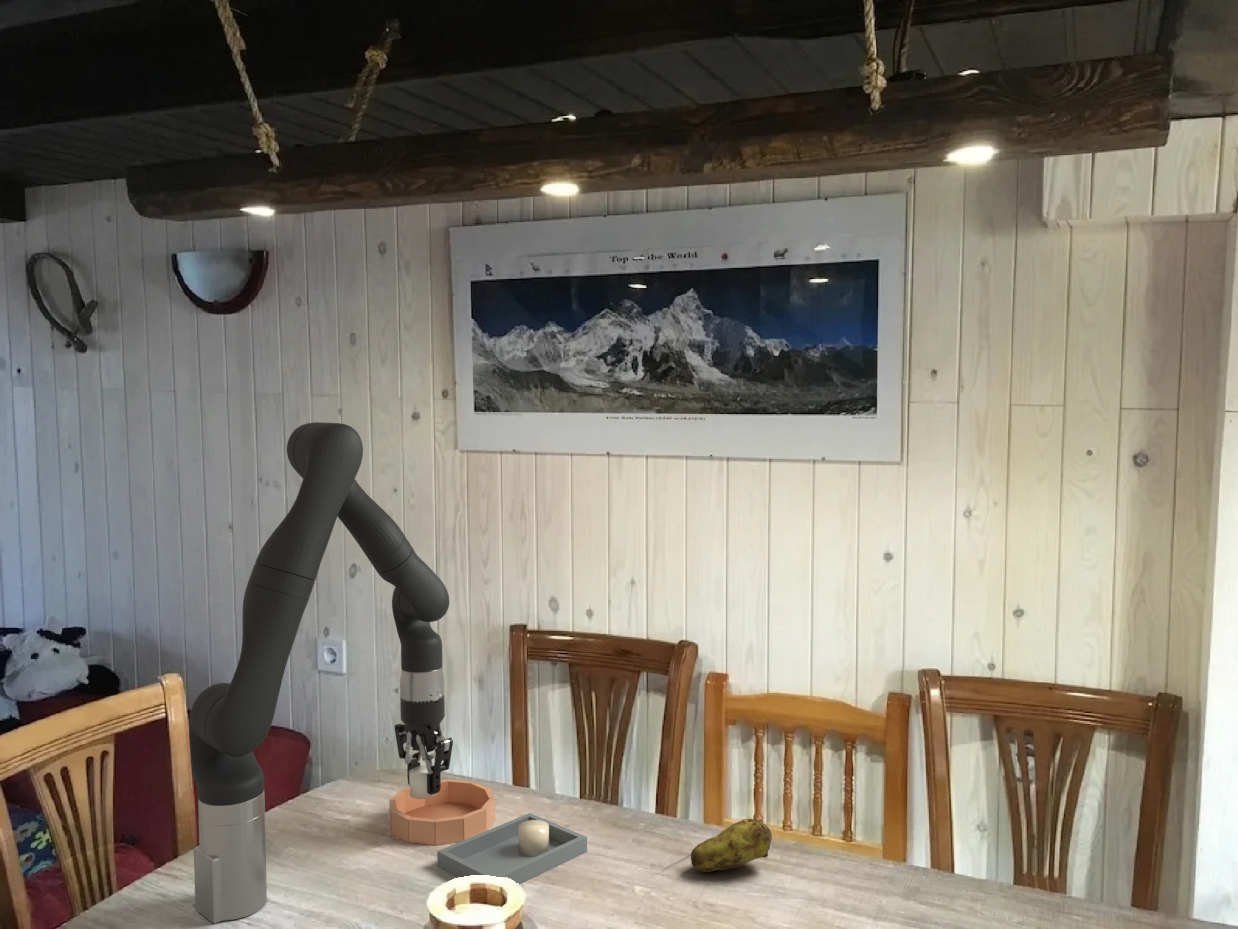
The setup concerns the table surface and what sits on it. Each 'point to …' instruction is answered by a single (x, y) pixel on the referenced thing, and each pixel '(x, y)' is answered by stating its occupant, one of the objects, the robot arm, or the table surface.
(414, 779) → the pebble
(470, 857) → the tray
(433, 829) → the bowl
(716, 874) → the table surface
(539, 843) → the pebble
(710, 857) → the potato
